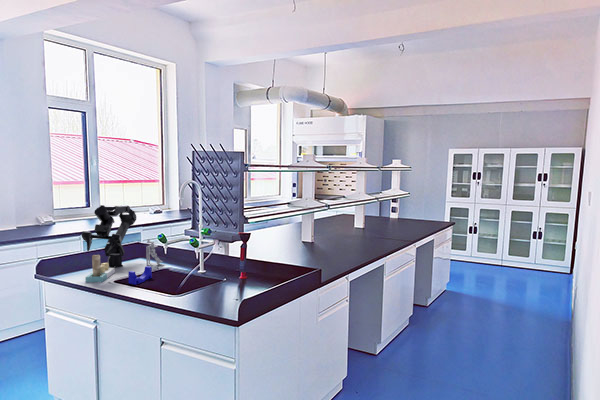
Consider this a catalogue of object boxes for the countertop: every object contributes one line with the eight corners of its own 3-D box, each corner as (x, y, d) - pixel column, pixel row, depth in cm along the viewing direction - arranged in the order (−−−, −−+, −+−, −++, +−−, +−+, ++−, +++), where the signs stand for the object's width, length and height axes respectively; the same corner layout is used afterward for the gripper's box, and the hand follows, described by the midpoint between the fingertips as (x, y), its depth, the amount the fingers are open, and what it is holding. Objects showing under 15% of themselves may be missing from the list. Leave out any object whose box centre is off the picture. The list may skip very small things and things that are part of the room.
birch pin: (101, 278, 202) (100, 254, 201) (100, 280, 198) (99, 256, 197) (93, 279, 200) (92, 255, 199) (92, 281, 197) (91, 256, 196)
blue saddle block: (135, 285, 193) (135, 272, 192) (128, 283, 195) (128, 271, 194) (153, 278, 204) (153, 267, 203) (147, 277, 206) (147, 266, 205)
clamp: (161, 266, 227) (161, 240, 226) (145, 265, 227) (144, 240, 226) (164, 264, 231) (164, 238, 230) (148, 263, 232) (147, 238, 230)
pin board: (99, 272, 212) (98, 262, 212) (114, 272, 213) (114, 262, 213) (85, 282, 195) (85, 271, 195) (102, 281, 196) (102, 271, 196)
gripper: (83, 216, 205) (73, 242, 196) (121, 219, 208) (113, 245, 199) (88, 227, 214) (79, 252, 205) (124, 230, 217) (117, 256, 208)
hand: (97, 251), depth 204 cm, fingers open, 9 cm apart
